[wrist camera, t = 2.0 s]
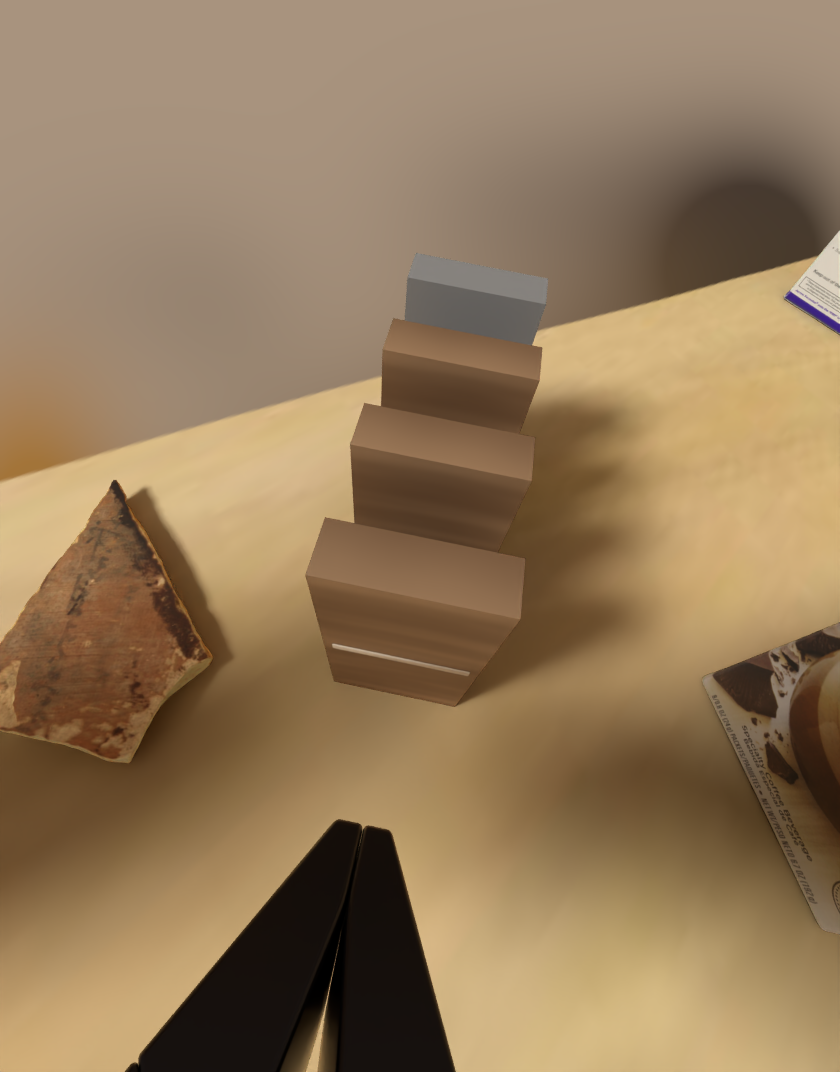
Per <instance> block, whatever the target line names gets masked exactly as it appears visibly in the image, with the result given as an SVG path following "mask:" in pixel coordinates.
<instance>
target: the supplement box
mask: <svg viewBox="0 0 840 1072" xmlns="http://www.w3.org/2000/svg"><path fill="white" fill-rule="evenodd" d="M784 299H785V300H787V301H788V302H790V303H791V304H793V305H794V306H796V307H797V308H799V309H801V310H802V311H804V312H806V313H807V314H809V315H810V316H812V317H814V318H815V319H817V320H818V321H820V322H821V323H823V324H824V325H826V326H827V327H829V328H830V329H832V330H834V331H835V332H836V333H838V334H840V231H839V232H838V233H837V234H836V236H835V237H834V238H833V239H832V241H831V242H830V243H829V244H828V245H827V246H826V248H825V249H824V250H823V251H822V253H821V254H820V255H819V256H818V257H817V258H816V260H815V261H814V262H813V263H812V265H811V266H810V267H809V268H808V269H807V271H806V272H805V273H804V274H803V275H802V276H801V278H800V279H799V280H798V281H797V282H796V284H795V285H794V286H793V287H792V288H791V290H790V291H789V292H788V293H787V294H786V295H785V296H784Z"/></svg>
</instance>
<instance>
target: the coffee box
mask: <svg viewBox="0 0 840 1072" xmlns="http://www.w3.org/2000/svg"><path fill="white" fill-rule="evenodd" d="M702 683H703V685H704V687H705V689H706V691H707V693H708V696H709V698H710V700H711V702H712V704H713V706H714V708H715V710H716V712H717V714H718V716H719V718H720V720H721V722H722V724H723V726H724V728H725V731H726V733H727V735H728V737H729V739H730V741H731V743H732V745H733V747H734V749H735V752H736V754H737V756H738V758H739V760H740V762H741V764H742V766H743V768H744V770H745V773H746V775H747V777H748V779H749V781H750V783H751V785H752V787H753V789H754V791H755V793H756V795H757V797H758V800H759V802H760V804H761V806H762V808H763V810H764V812H765V814H766V816H767V818H768V820H769V822H770V825H771V827H772V829H773V831H774V833H775V835H776V837H777V839H778V841H779V843H780V846H781V848H782V850H783V852H784V854H785V856H786V858H787V860H788V862H789V864H790V867H791V869H792V871H793V873H794V875H795V877H796V879H797V881H798V883H799V885H800V887H801V890H802V892H803V894H804V896H805V898H806V900H807V902H808V904H809V906H810V908H811V910H812V913H813V915H814V917H815V919H816V921H817V923H818V925H819V926H820V928H822V929H823V930H825V931H827V932H832V933H836V934H840V622H839V623H837V624H834V625H832V626H830V627H827V628H825V629H822V630H820V631H817V632H815V633H812V634H810V635H808V636H805V637H803V638H800V639H798V640H795V641H793V642H790V643H788V644H785V645H783V646H780V647H778V648H775V649H773V650H770V651H768V652H765V653H763V654H760V655H757V656H755V657H753V658H750V659H748V660H745V661H743V662H741V663H738V664H735V665H732V666H730V667H727V668H725V669H722V670H719V671H717V672H714V673H710V674H708V675H705V676H704V677H703V680H702Z"/></svg>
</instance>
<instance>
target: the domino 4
mask: <svg viewBox="0 0 840 1072" xmlns="http://www.w3.org/2000/svg"><path fill="white" fill-rule="evenodd" d="M524 570H525V558H521V557H516V556H511V555H506V554H502V553H497V552H492V551H487V550H482V549H477V548H472V547H467V546H463V545H458V544H453V543H448V542H443V541H438V540H433V539H428V538H423V537H419V536H414V535H409V534H404V533H399V532H394V531H389V530H384V529H380V528H375V527H370V526H365V525H360V524H355V523H350V522H345V521H340V520H336V519H331V518H326V517H325V519H324V522H323V525H322V528H321V531H320V534H319V537H318V540H317V542H316V545H315V548H314V551H313V554H312V557H311V560H310V563H309V566H308V569H307V572H306V579H307V583H308V586H309V590H310V594H311V597H312V601H313V605H314V609H315V612H316V616H317V620H318V623H319V627H320V631H321V634H322V638H323V642H324V645H325V649H326V653H327V657H328V660H329V664H330V668H331V671H332V675H333V679H334V681H335V682H340V683H345V684H349V685H354V686H359V687H364V688H368V689H373V690H378V691H383V692H387V693H392V694H397V695H402V696H406V697H411V698H416V699H421V700H425V701H430V702H435V703H440V704H444V705H449V706H454V707H455V706H456V704H457V703H458V702H459V700H460V699H461V698H462V696H463V695H464V694H465V692H466V691H467V690H468V688H469V687H470V686H471V684H472V683H473V682H474V680H475V679H476V678H477V676H478V675H479V674H480V672H481V671H482V670H483V669H484V667H485V666H486V665H487V663H488V662H489V661H490V659H491V658H492V657H493V655H494V654H495V653H496V651H497V650H498V649H499V647H500V646H501V645H502V643H503V642H504V641H505V639H506V638H507V637H508V635H509V634H510V633H511V631H512V630H513V629H514V627H515V626H516V625H517V623H518V622H519V621H520V619H521V608H522V595H523V583H524Z"/></svg>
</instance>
